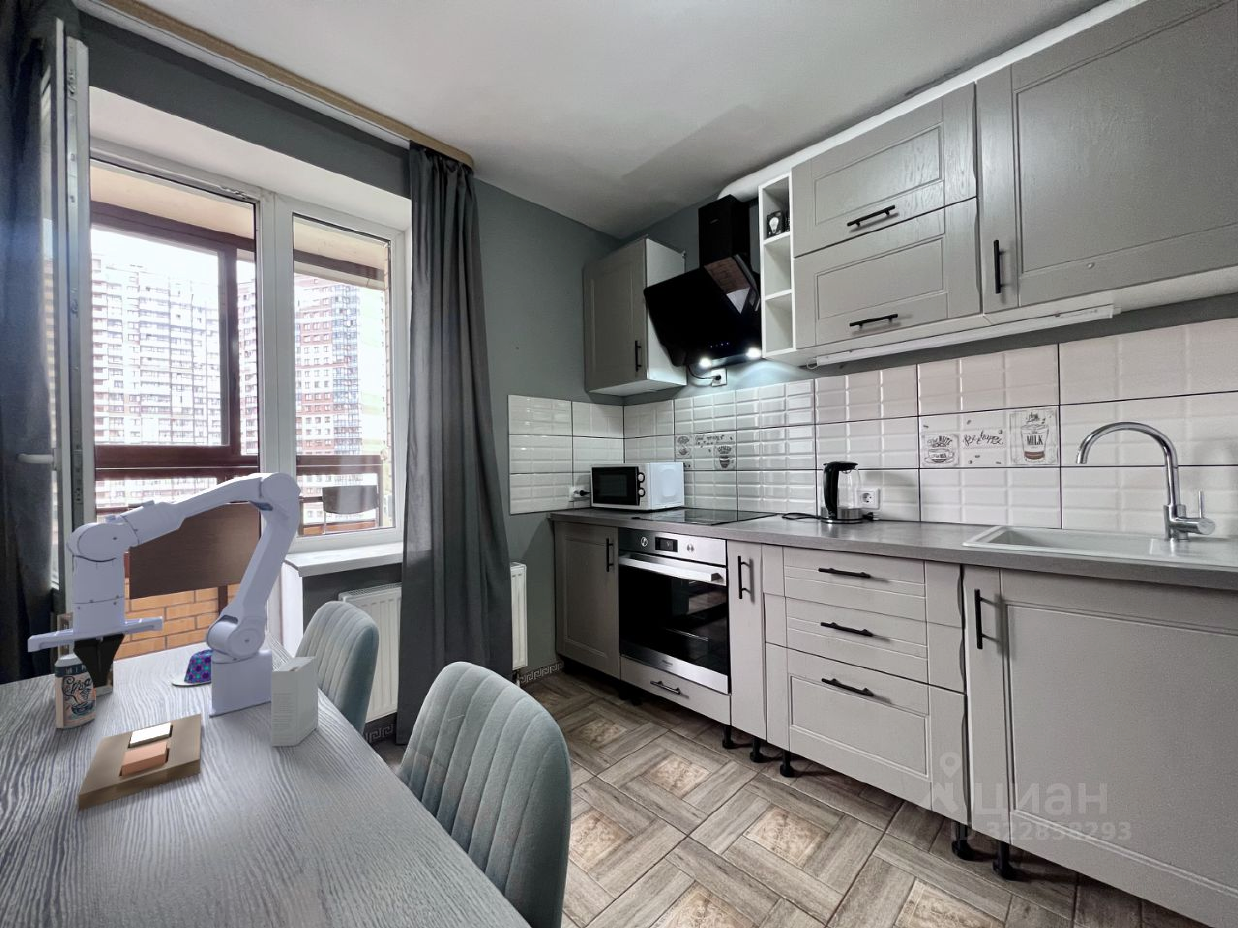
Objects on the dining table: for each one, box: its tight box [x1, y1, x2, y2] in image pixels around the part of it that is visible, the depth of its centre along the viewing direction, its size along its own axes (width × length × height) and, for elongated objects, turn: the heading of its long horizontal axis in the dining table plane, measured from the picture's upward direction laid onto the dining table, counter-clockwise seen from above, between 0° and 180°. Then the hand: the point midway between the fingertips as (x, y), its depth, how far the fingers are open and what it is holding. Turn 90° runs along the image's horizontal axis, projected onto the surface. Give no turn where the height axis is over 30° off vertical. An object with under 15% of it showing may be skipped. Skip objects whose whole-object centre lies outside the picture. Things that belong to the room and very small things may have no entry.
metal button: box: [130, 723, 171, 748], centre depth 78 cm, size 4×4×2 cm
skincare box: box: [270, 656, 319, 747], centre depth 81 cm, size 6×4×12 cm
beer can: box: [54, 653, 97, 730], centre depth 87 cm, size 5×5×12 cm
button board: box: [77, 712, 202, 812], centre depth 75 cm, size 12×18×2 cm, turn 40°
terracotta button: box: [122, 741, 167, 776], centre depth 71 cm, size 4×4×2 cm
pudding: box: [171, 648, 213, 686], centre depth 107 cm, size 12×12×5 cm
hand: (100, 685), depth 78 cm, fingers closed
